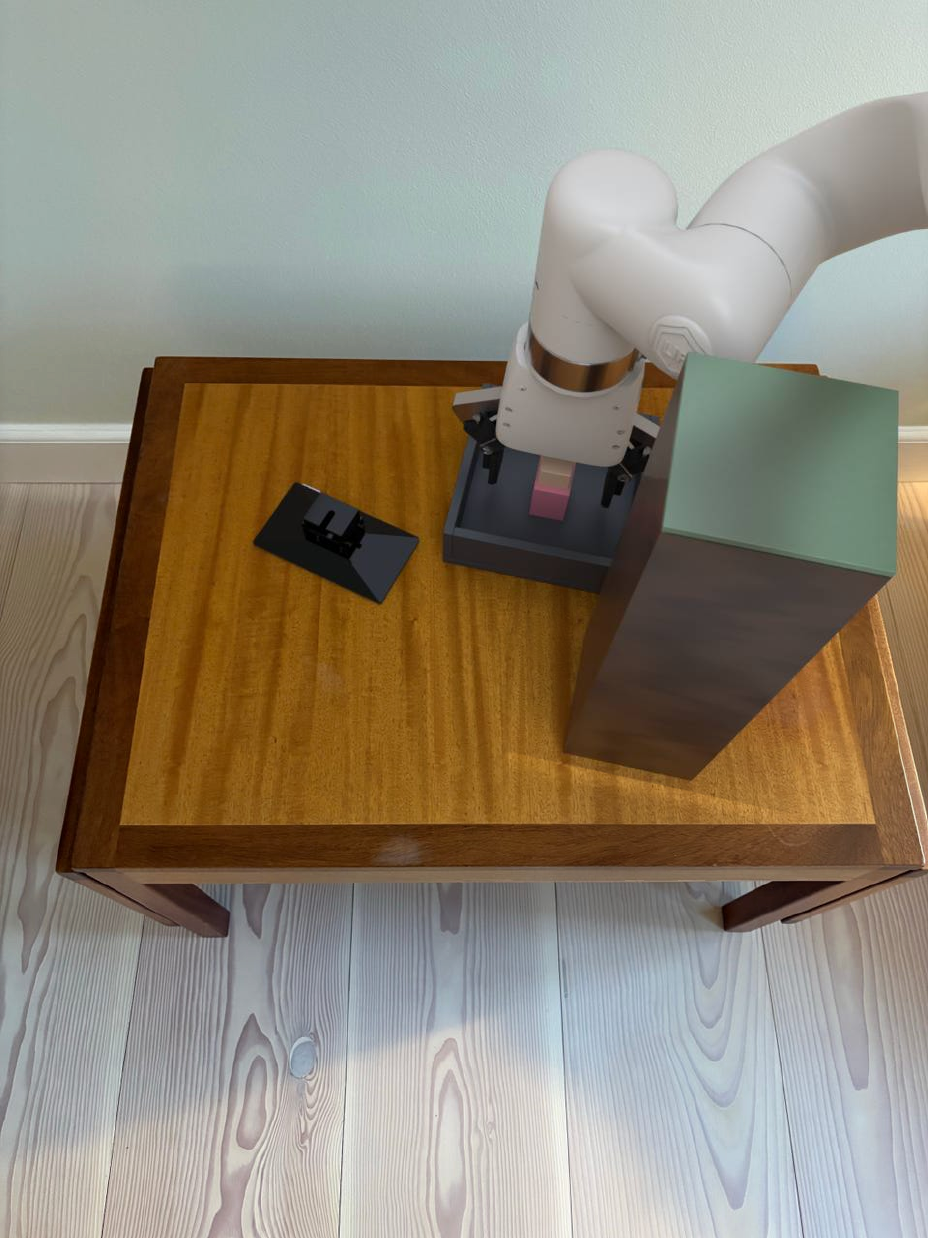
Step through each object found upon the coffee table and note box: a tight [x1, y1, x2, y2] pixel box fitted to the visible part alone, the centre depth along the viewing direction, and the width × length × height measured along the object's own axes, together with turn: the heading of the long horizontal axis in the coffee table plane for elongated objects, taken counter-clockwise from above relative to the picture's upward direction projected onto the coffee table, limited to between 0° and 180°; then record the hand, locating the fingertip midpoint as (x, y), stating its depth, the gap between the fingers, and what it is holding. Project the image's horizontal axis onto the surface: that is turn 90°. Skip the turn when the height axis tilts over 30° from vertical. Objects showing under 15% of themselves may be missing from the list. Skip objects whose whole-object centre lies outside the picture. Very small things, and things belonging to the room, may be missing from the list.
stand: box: [562, 352, 900, 782], centre depth 55 cm, size 10×10×34 cm
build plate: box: [252, 481, 420, 605], centre depth 74 cm, size 12×7×5 cm, turn 63°
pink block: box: [529, 455, 576, 521], centre depth 75 cm, size 3×4×6 cm
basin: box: [442, 382, 661, 595], centre depth 76 cm, size 16×16×5 cm
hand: (550, 482), depth 75 cm, fingers open, 9 cm apart
